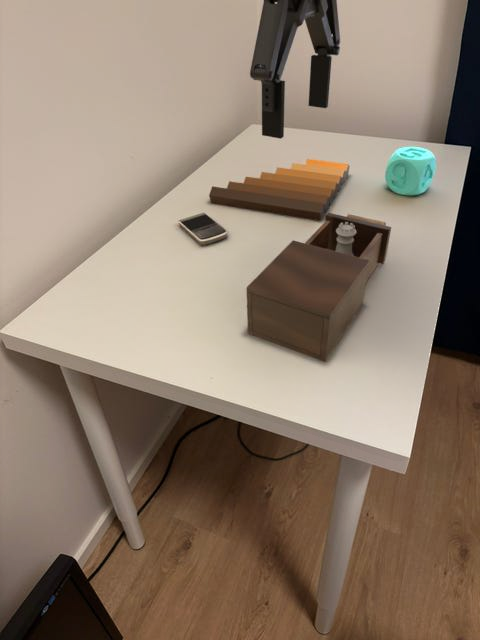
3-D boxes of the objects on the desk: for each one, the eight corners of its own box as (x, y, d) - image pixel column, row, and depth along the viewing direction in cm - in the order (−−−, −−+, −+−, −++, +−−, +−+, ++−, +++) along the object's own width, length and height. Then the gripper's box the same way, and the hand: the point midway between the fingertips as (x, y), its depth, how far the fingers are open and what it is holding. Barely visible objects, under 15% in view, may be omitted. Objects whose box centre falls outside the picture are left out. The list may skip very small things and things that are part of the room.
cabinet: (291, 283, 83) (292, 239, 77) (362, 305, 77) (369, 260, 72) (247, 333, 73) (246, 287, 68) (325, 362, 68) (330, 314, 62)
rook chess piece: (325, 272, 81) (329, 230, 76) (331, 259, 84) (335, 217, 79) (352, 277, 80) (358, 234, 75) (357, 263, 83) (363, 221, 78)
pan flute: (209, 204, 107) (319, 222, 99) (208, 189, 105) (321, 207, 97) (252, 162, 124) (348, 174, 116) (251, 149, 122) (350, 161, 114)
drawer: (335, 233, 93) (339, 201, 89) (394, 248, 89) (400, 214, 84) (292, 282, 81) (294, 247, 77) (357, 302, 77) (363, 266, 72)
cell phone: (202, 248, 93) (201, 241, 92) (176, 225, 100) (176, 219, 99) (229, 238, 95) (229, 232, 94) (203, 216, 102) (202, 210, 101)
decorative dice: (431, 186, 110) (439, 151, 104) (415, 199, 105) (423, 163, 100) (399, 177, 114) (405, 143, 109) (382, 189, 109) (387, 154, 104)
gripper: (321, -85, 62) (311, 93, 75) (210, -79, 46) (223, 145, 59) (378, -87, 58) (357, 99, 72) (281, -82, 42) (277, 156, 56)
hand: (296, 120), depth 66 cm, fingers open, 13 cm apart
